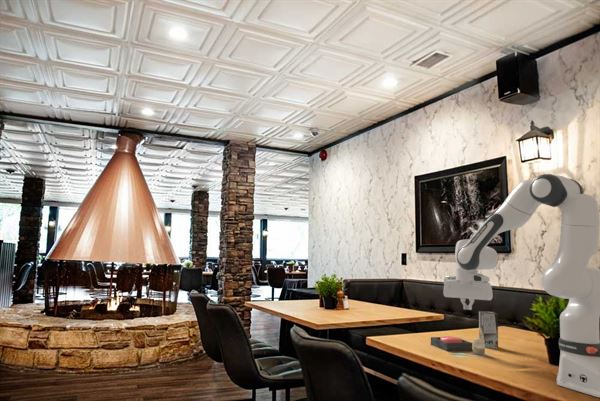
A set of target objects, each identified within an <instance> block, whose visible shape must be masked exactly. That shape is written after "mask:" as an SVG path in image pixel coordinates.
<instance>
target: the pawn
mask: <svg viewBox="0 0 600 401" xmlns="http://www.w3.org/2000/svg"><path fill="white" fill-rule="evenodd" d="M485 349H486V348H485V340H484V339H479V338H472V350H473V351H472V353H473V354H474V355H478V356H482V357H485V356H484V355H485V354H486V353H485V352H486V350H485ZM474 355H473V356H474Z"/></svg>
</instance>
